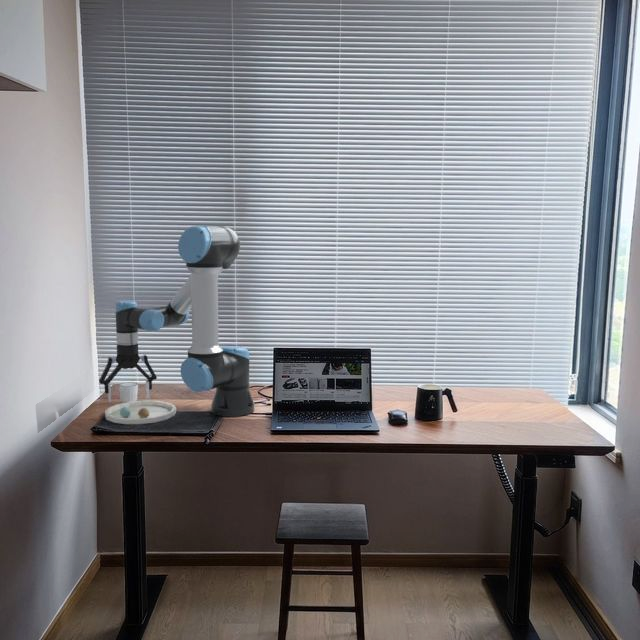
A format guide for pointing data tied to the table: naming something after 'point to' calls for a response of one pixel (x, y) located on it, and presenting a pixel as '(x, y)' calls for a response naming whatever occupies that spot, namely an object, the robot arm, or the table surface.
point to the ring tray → (155, 408)
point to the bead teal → (125, 412)
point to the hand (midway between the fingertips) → (128, 400)
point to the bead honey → (143, 413)
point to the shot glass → (128, 391)
